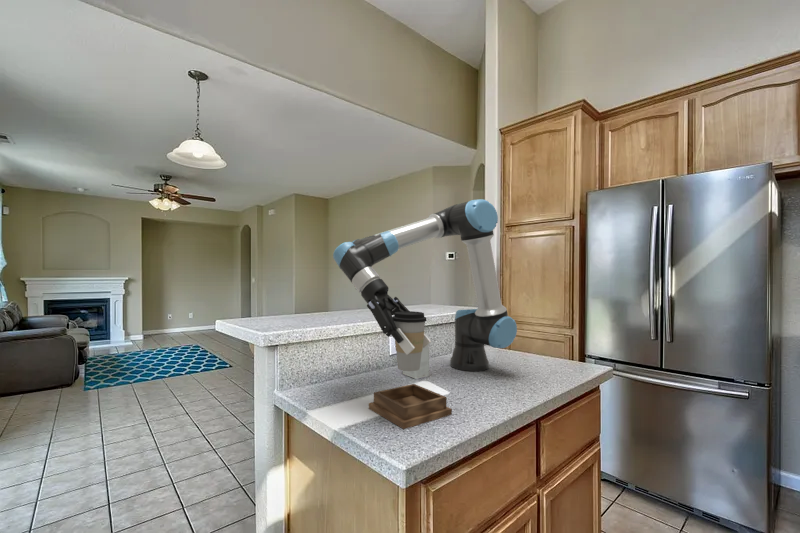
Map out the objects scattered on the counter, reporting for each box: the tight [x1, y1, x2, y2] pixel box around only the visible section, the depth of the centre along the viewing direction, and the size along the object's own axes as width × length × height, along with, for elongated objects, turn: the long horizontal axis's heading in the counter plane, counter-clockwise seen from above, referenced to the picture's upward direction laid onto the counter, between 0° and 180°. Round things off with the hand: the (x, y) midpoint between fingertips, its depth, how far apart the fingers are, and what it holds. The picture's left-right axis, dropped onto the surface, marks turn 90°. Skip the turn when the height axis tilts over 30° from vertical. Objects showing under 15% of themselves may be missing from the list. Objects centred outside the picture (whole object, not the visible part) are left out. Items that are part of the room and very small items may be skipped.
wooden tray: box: [368, 383, 453, 430], centre depth 99 cm, size 16×16×4 cm
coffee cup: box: [392, 310, 428, 372], centre depth 99 cm, size 9×9×15 cm
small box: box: [402, 343, 430, 380], centre depth 134 cm, size 8×6×13 cm
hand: (419, 348), depth 98 cm, fingers closed on coffee cup, 9 cm apart
